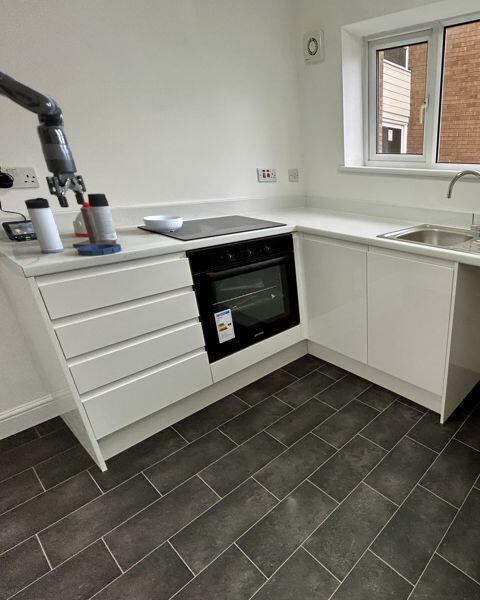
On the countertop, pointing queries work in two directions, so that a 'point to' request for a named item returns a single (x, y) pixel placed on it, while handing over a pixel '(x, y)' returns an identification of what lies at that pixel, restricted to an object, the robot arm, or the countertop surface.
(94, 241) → the post
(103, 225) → the spray can
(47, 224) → the travel mug
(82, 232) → the kitchen timer
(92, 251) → the ring
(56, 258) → the countertop surface
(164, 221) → the cereal bowl
